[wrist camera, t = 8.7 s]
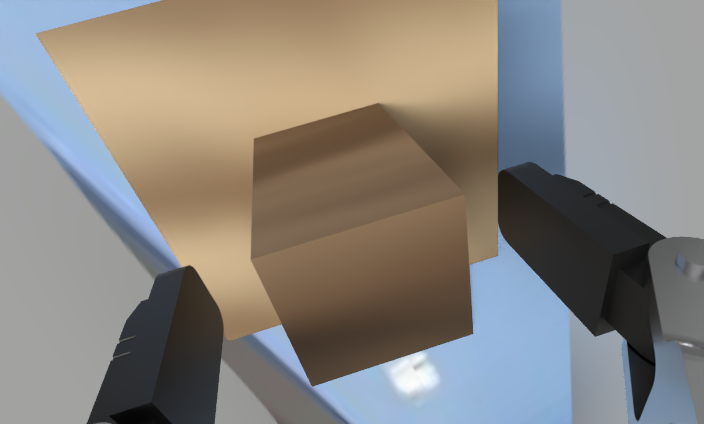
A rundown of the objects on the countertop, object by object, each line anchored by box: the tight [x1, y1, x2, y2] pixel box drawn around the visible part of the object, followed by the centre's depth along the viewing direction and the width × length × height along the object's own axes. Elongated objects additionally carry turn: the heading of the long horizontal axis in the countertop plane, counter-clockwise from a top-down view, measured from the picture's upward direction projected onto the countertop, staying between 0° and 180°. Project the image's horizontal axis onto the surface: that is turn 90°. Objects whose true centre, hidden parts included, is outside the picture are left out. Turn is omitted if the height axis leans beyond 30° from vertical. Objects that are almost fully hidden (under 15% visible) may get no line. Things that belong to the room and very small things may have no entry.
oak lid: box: [36, 0, 498, 386], centre depth 11 cm, size 12×12×7 cm
